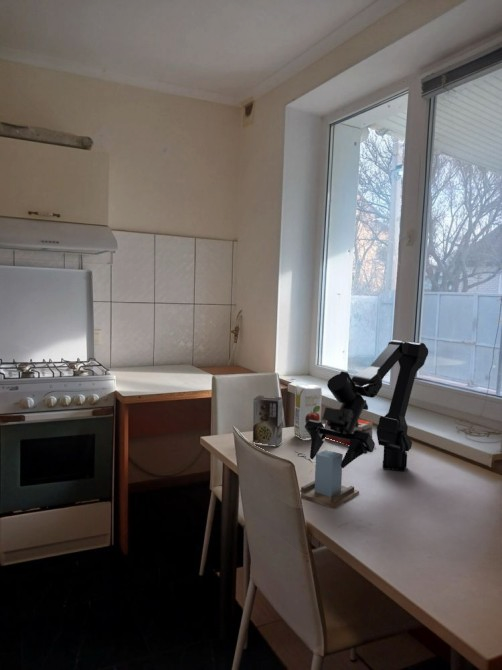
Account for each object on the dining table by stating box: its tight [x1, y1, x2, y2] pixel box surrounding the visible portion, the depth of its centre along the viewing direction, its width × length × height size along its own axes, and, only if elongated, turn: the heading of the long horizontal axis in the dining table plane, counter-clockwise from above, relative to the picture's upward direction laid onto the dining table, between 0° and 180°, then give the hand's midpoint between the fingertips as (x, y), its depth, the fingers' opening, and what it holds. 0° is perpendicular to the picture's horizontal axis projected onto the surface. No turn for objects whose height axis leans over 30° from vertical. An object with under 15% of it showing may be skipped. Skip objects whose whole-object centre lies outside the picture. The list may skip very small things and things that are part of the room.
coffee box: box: [252, 395, 284, 447], centre depth 174 cm, size 9×6×16 cm
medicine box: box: [324, 418, 373, 446], centre depth 179 cm, size 15×8×8 cm, turn 45°
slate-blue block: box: [314, 449, 344, 497], centre depth 131 cm, size 5×5×10 cm
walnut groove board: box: [300, 480, 360, 509], centre depth 132 cm, size 12×12×2 cm
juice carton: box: [293, 384, 323, 439], centre depth 182 cm, size 8×9×19 cm
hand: (326, 462), depth 130 cm, fingers open, 9 cm apart
